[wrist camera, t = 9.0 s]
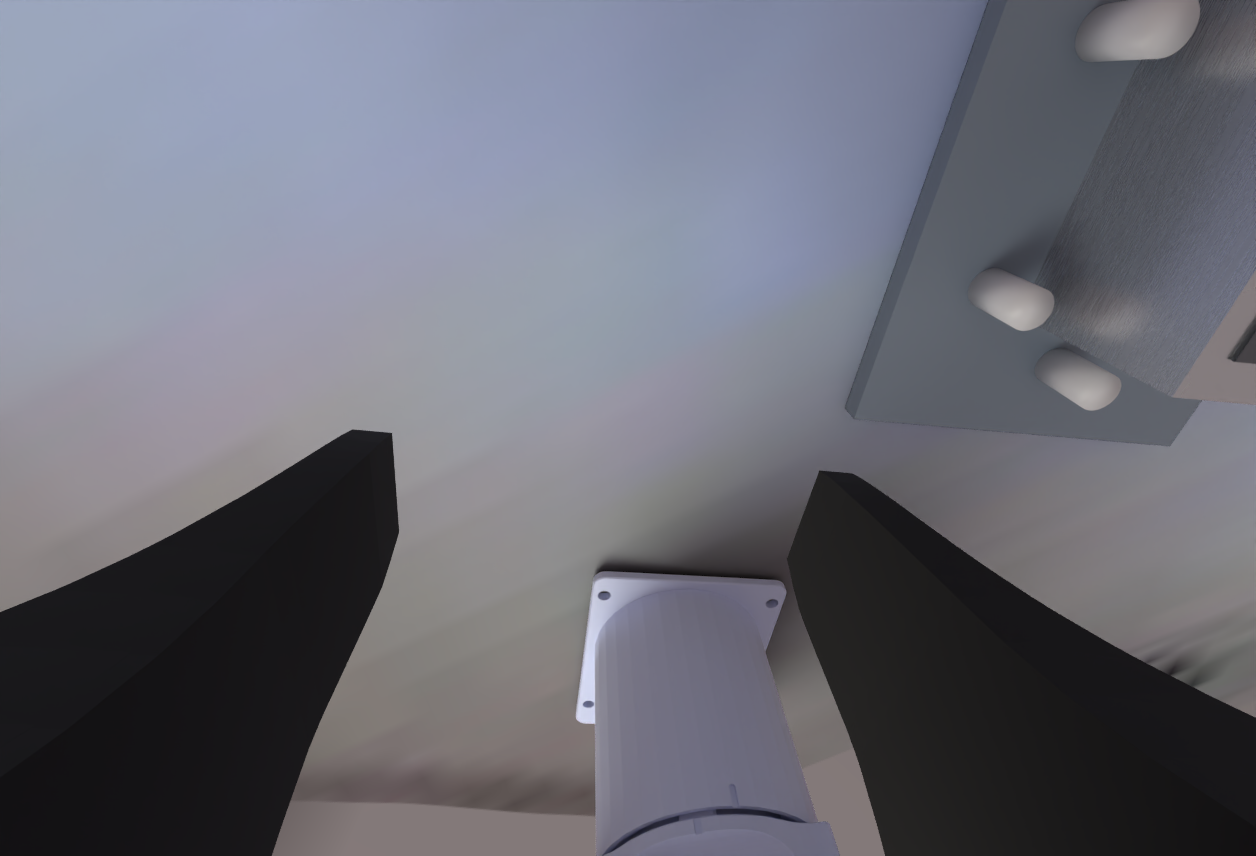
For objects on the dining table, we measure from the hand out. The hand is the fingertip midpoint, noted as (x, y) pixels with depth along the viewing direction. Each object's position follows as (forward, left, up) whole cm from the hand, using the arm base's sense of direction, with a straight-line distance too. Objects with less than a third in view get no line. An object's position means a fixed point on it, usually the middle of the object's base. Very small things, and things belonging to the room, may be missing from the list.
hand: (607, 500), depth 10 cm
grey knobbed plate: (+6, -15, -9) cm, 18 cm away
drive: (+6, -15, -9) cm, 18 cm away
